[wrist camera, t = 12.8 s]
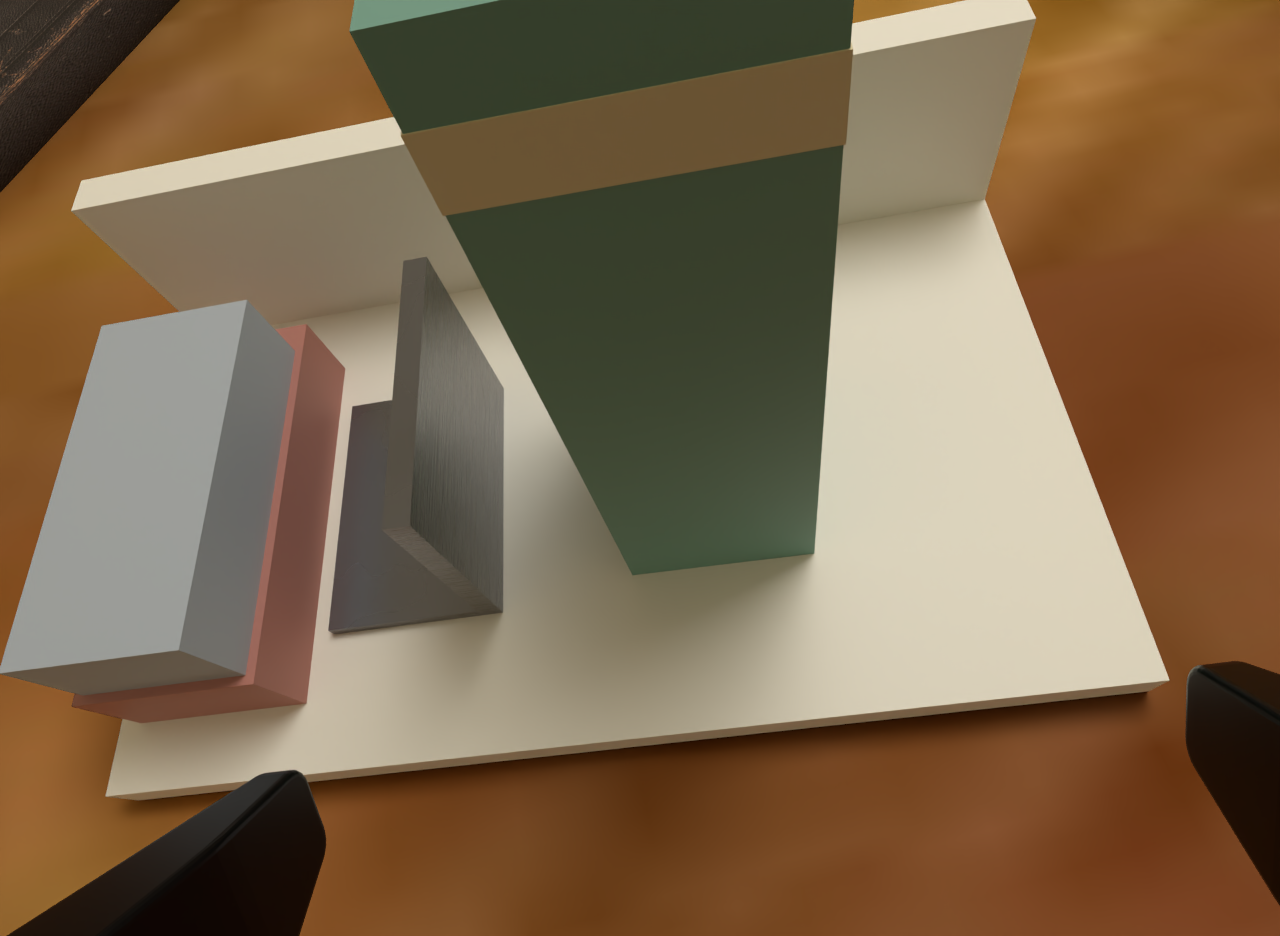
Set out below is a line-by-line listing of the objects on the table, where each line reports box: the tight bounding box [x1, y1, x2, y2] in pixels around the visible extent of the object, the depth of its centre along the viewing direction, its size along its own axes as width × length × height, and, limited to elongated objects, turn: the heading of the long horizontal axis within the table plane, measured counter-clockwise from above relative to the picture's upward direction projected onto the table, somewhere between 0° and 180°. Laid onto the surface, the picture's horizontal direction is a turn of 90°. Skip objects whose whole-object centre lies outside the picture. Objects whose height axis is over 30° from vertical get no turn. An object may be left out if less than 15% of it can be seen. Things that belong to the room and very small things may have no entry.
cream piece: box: [0, 0, 1169, 800], centre depth 18 cm, size 14×22×6 cm, turn 95°
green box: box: [350, 0, 854, 575], centre depth 13 cm, size 5×4×13 cm
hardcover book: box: [0, 0, 179, 192], centre depth 35 cm, size 16×23×2 cm
